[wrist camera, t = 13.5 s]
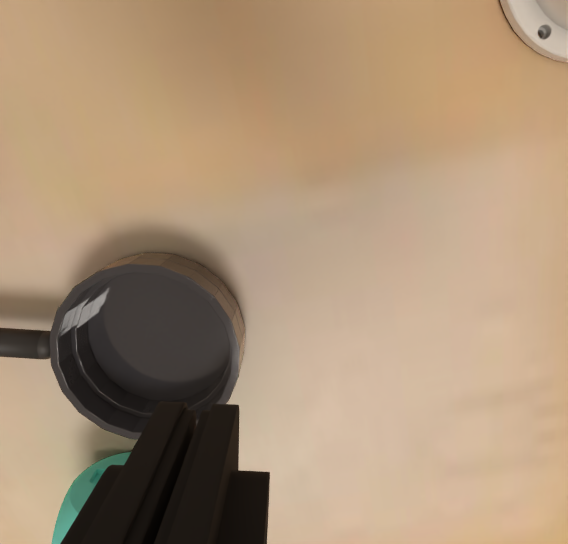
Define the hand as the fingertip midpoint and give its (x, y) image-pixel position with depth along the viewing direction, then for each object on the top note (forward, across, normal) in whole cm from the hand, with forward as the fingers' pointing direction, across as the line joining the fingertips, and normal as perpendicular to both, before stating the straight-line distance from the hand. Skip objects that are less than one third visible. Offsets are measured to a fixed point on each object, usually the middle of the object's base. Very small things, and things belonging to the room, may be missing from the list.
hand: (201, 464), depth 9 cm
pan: (+24, +8, +7) cm, 27 cm away
